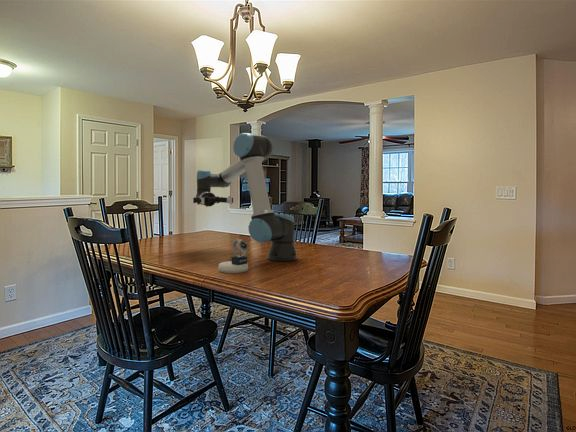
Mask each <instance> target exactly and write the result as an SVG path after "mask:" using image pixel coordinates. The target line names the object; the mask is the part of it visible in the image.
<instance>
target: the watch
mask: <svg viewBox="0 0 576 432" xmlns="http://www.w3.org/2000/svg"><path fill="white" fill-rule="evenodd" d="M231 248H232V253H233V255H234V256H231V261H232V264H234V265H242V264H247V263H248V256H246V255H247V253H248V249H249V244H248V242H247V241H245V240H244V239H235V240H233V241H232V246H231ZM238 249H239V250H238ZM239 251H240V253H241V255H240V254H239Z"/></svg>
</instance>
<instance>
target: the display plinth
mask: <svg viewBox="0 0 576 432" xmlns="http://www.w3.org/2000/svg"><path fill="white" fill-rule="evenodd" d="M248 270H249V263H248V262H247V264H242V265H234V264H232V260H230V261H229V260H228V261H222V262H220V263H218V272H220V273H223V274H224V273H225V274H240V273H245V272H247V271H248Z"/></svg>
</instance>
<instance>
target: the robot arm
mask: <svg viewBox="0 0 576 432" xmlns="http://www.w3.org/2000/svg"><path fill="white" fill-rule="evenodd" d="M232 145H233V153H234V154H235V155H236V156H237V157H239V159H237V160H236V161H235V162H234V163H232V164H230V165H229V166H228V167H227V168H226V169H223V170H222V171H220V173H211V170H208V169H207V170H205V169H200V170H199V169H198V170H197V171H196V194H195V197H193V198H192V199H193V201H192V202H193V204H197V205H201V206H205V207H206V208H207V207H213V206H214V205H215V204H220V203H224V204H230V205H232V204H233V203H234V197H231V196H230V195H229V196H228V197H223V196H221V197H220V196H216V195H215V194H214V193H213V192H212V191H211V190H212V188H228V187H230V186H231V184H232V182H233V181H234V180H235V179H238V177H240V176H242V175H243V174H244V173H245V174H246V175H245V176H246V179H247V186H248V191H249V196H250V201H251V202H250V203H251V207H252V211H253V213H252V214H251V217H250V218H251V220H250V221H249V225H248V228H247V229H248V234H249V236H250V237H251V238H252V239H253V240H254V241H255V242H257V243H268V242H271V244H270V248H269V251H268V253H267V259H268V260H270V261H275V262H292V261H296V260H298V253H297V249H296V246H295V225H296V224H295V223H296V222H295V218H294V215H291V214H290V215H289V214H280V213H275V211H273V210H272V209H271V204H270V200H269V199H270V198H269V194H268V189H267V183H266V179H265V178H266V177H265V173H264V168H263V164H262V163H263V162H265V161H266V160H267V159H269V158H270V156H271V155H272V153H273V150H274V149H273V148H274V147H273V143H272V141H271V140H270V138H268V136H265V135H260V134H255V133H250V132H242V133H240V134H238V135H237V136H236V138H235V140H234V141H233V144H232Z"/></svg>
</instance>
